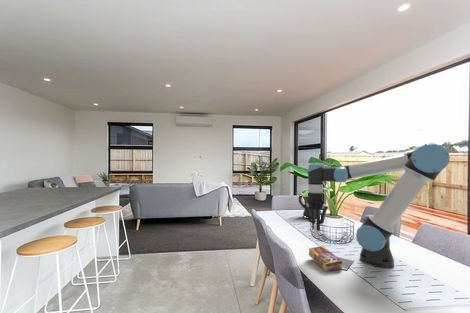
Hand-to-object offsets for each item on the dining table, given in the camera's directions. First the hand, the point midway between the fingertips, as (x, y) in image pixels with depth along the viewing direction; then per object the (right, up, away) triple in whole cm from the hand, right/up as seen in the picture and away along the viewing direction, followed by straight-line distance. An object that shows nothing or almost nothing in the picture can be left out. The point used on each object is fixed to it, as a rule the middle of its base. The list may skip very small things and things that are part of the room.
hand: (316, 236), depth 130 cm
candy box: (-1, -7, -1) cm, 7 cm away
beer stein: (+25, -13, +89) cm, 93 cm away
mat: (+8, -11, -6) cm, 15 cm away
